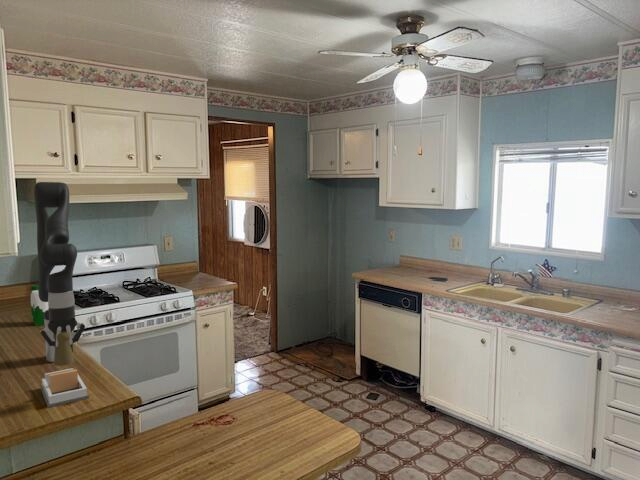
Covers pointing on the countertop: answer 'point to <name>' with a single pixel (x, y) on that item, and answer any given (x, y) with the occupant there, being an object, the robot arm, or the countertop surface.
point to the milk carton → (37, 307)
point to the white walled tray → (63, 392)
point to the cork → (63, 350)
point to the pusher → (63, 381)
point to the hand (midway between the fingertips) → (64, 355)
